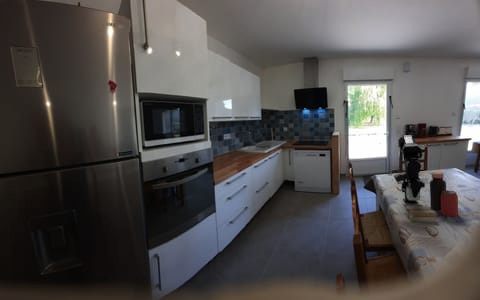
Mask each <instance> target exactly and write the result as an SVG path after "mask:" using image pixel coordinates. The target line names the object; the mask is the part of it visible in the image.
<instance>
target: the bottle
mask: <svg viewBox="0 0 480 300" xmlns="http://www.w3.org/2000/svg"><path fill="white" fill-rule="evenodd" d="M446 190H447V182H446V181H445V180H444V172H440V171H434V172H431V180H430V181H429V197H430V200H429V201H430V209H432V210H433V211H438V212H439V211H440V212H441V193H442V191H446Z"/></svg>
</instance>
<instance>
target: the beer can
mask: <svg viewBox="0 0 480 300" xmlns="http://www.w3.org/2000/svg"><path fill="white" fill-rule="evenodd" d="M458 197H459V196H458V194H457V192H456V191H454V190H447V189H446V191H442V193H441V211H440V214H441V215H443V216H446V217H458V216H459V198H458Z"/></svg>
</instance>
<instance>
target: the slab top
mask: <svg viewBox="0 0 480 300" xmlns="http://www.w3.org/2000/svg"><path fill="white" fill-rule="evenodd" d="M405 212H406V213H407V212H408V213H409V214H411V215H412V216H413V217H435V218H437V214H438V213H437V211H436V210H433V209H431V207H430V206H428V205H409V206H408V205H405Z"/></svg>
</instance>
